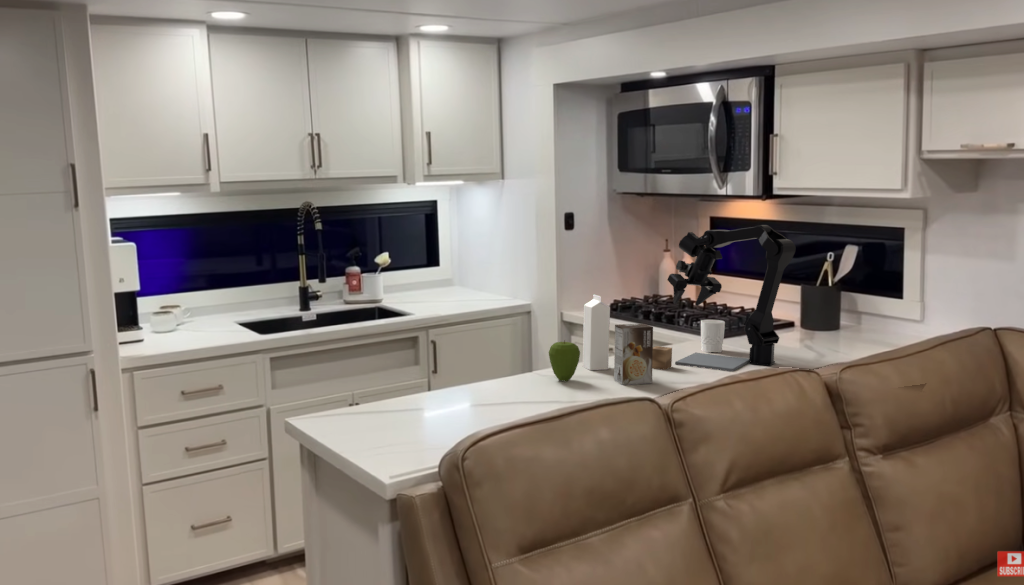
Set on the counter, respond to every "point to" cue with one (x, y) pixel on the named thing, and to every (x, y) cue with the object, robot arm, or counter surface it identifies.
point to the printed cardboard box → (633, 354)
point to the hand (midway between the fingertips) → (685, 304)
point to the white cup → (712, 335)
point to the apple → (564, 359)
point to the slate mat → (713, 361)
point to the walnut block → (662, 358)
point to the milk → (596, 334)
